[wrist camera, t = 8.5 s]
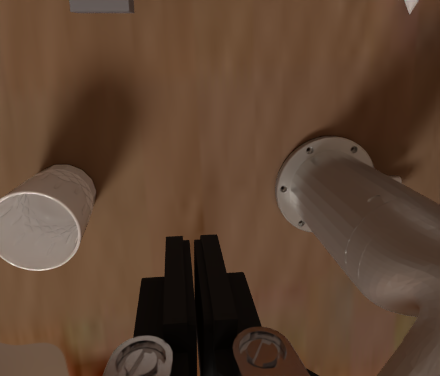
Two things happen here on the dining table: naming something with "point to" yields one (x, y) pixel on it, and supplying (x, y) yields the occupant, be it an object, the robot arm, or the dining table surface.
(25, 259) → the white cup
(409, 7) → the white compartment tray
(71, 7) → the tipping tray
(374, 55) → the dining table surface
